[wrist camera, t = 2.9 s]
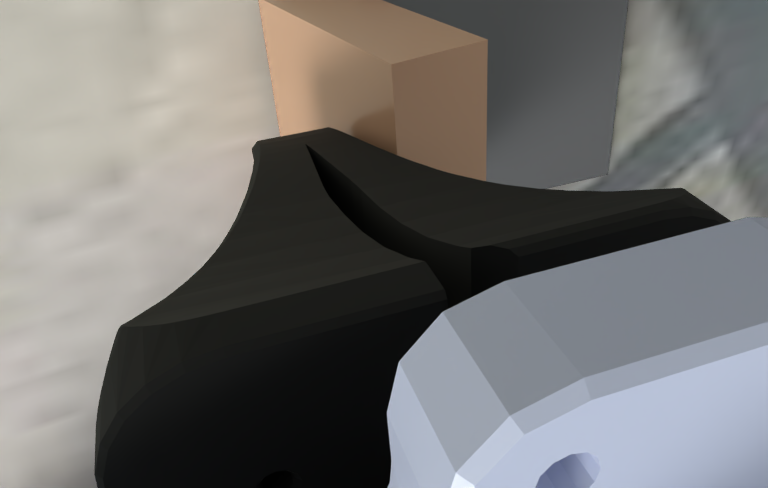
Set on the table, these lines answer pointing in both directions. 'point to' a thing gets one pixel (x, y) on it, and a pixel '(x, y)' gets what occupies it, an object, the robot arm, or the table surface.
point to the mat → (544, 83)
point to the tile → (380, 79)
